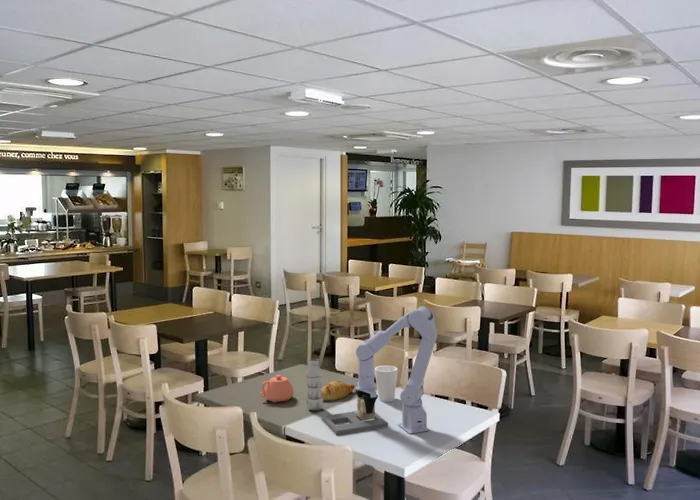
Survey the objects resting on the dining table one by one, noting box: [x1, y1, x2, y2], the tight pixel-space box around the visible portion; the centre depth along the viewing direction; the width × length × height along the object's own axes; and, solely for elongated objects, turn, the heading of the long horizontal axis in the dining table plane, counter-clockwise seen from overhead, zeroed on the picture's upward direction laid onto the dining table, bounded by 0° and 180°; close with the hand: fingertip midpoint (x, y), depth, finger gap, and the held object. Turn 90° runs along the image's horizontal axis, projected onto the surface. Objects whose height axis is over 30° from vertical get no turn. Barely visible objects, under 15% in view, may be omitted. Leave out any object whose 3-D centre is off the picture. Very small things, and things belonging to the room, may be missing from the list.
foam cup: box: [374, 365, 399, 403], centre depth 251 cm, size 10×9×13 cm
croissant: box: [321, 380, 355, 402], centre depth 256 cm, size 21×10×8 cm, turn 127°
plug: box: [356, 397, 376, 422], centre depth 226 cm, size 5×5×7 cm
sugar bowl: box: [260, 374, 295, 404], centre depth 253 cm, size 12×14×10 cm
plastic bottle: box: [305, 358, 324, 411], centre depth 240 cm, size 6×7×20 cm
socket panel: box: [321, 410, 389, 436], centre depth 225 cm, size 16×20×2 cm
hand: (366, 410), depth 226 cm, fingers closed on plug, 5 cm apart
